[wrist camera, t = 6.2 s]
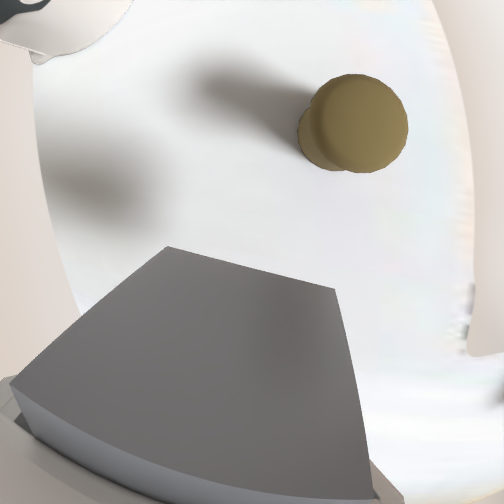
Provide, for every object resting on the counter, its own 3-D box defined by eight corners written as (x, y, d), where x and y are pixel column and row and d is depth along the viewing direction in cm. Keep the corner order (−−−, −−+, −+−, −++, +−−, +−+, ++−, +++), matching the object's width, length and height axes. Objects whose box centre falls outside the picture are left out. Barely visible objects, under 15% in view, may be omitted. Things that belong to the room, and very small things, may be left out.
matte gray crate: (167, 246, 12) (8, 383, 4) (334, 288, 12) (374, 499, 3) (157, 369, 14) (79, 502, 6) (287, 404, 14) (269, 561, 6)
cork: (294, 167, 23) (295, 176, 13) (299, 95, 21) (302, 50, 11) (367, 175, 23) (419, 193, 12) (372, 104, 21) (426, 73, 10)
